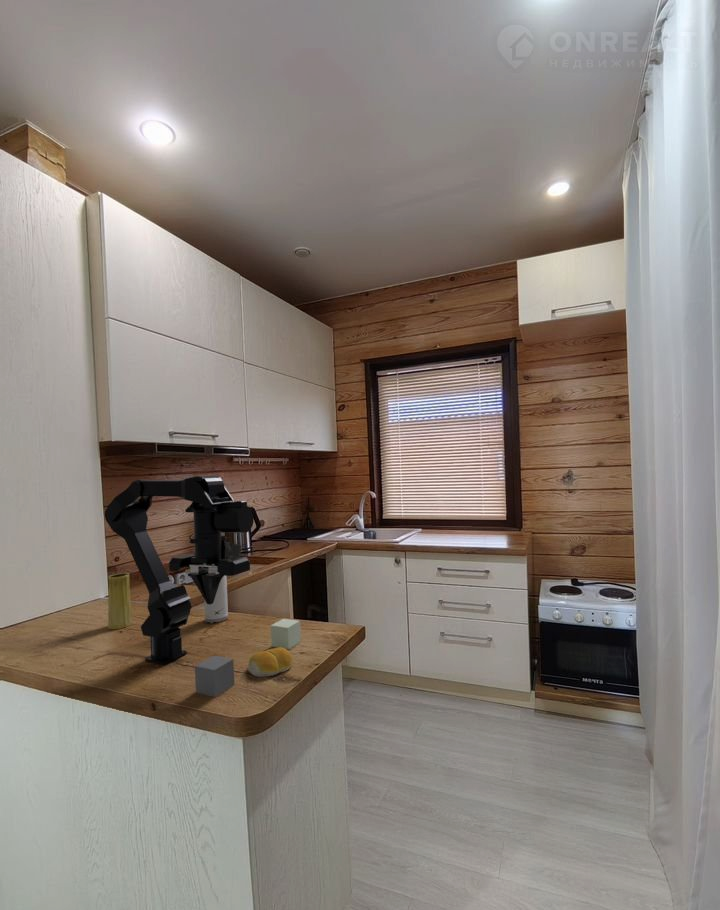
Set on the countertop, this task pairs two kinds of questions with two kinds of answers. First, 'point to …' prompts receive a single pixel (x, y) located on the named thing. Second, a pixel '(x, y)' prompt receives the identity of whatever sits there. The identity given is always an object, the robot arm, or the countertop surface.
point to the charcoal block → (214, 675)
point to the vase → (119, 601)
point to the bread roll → (270, 662)
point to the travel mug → (218, 604)
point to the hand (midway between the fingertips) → (210, 603)
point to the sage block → (285, 633)
